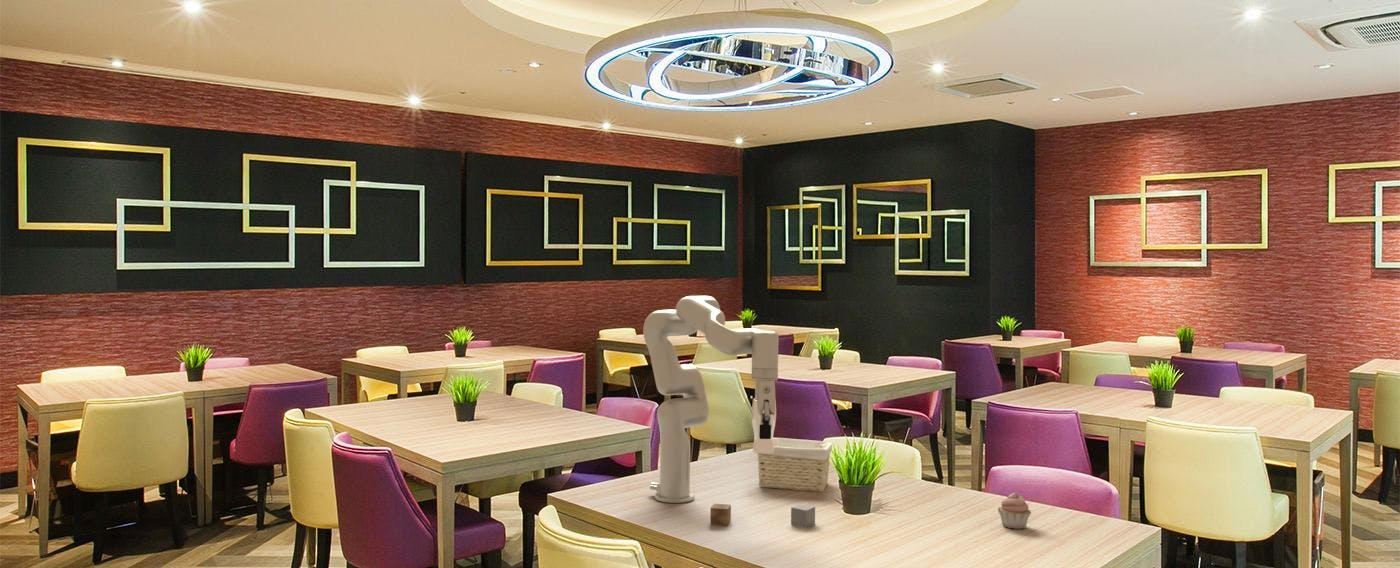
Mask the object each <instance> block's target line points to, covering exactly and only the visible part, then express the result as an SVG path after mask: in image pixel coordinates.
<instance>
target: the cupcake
mask: <svg viewBox="0 0 1400 568" xmlns="http://www.w3.org/2000/svg"><path fill="white" fill-rule="evenodd" d="M1029 508H1030V507H1029V505H1028V503H1027V502H1026V501H1025V499H1024V498H1023V497H1022V496H1021V495H1020V494H1018V493H1017V492H1013V493H1010V494H1009V495H1008V496H1007V498H1004V499H1002V501H1001V506H999V507H997V512H998V515H1000V520H1001V525H1002V527H1004V526H1005V527H1004V528H1006V527H1008V528H1007V529H1010V528H1015V529H1014V530H1021V529H1020V528H1024V529H1025V528H1026V527H1027V523H1028V520H1029V518H1030V516H1031V515H1032V510H1030V509H1029Z"/></svg>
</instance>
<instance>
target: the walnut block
mask: <svg viewBox="0 0 1400 568" xmlns="http://www.w3.org/2000/svg"><path fill="white" fill-rule="evenodd" d="M709 511H710V516H709V517H710V519H709V521H710V523H709V524H710V526H716V527H717V526H718V527H719V526H720V527H728V526H729V525H730V524H731V522H732V521H731V520H732V519H731V518H732V504H724V503H713V504H712V505H711V507H710V510H709Z"/></svg>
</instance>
